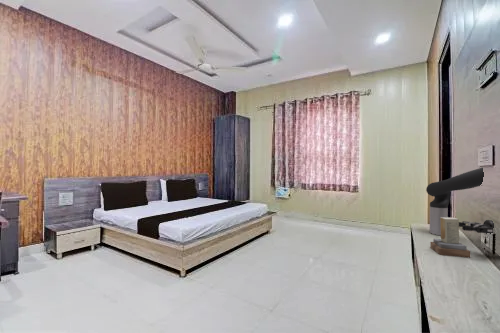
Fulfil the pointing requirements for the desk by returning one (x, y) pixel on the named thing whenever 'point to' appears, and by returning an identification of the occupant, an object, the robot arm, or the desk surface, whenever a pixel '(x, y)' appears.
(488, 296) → the desk surface
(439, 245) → the metal plate on wood
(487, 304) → the desk surface
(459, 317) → the desk surface
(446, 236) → the skincare box
